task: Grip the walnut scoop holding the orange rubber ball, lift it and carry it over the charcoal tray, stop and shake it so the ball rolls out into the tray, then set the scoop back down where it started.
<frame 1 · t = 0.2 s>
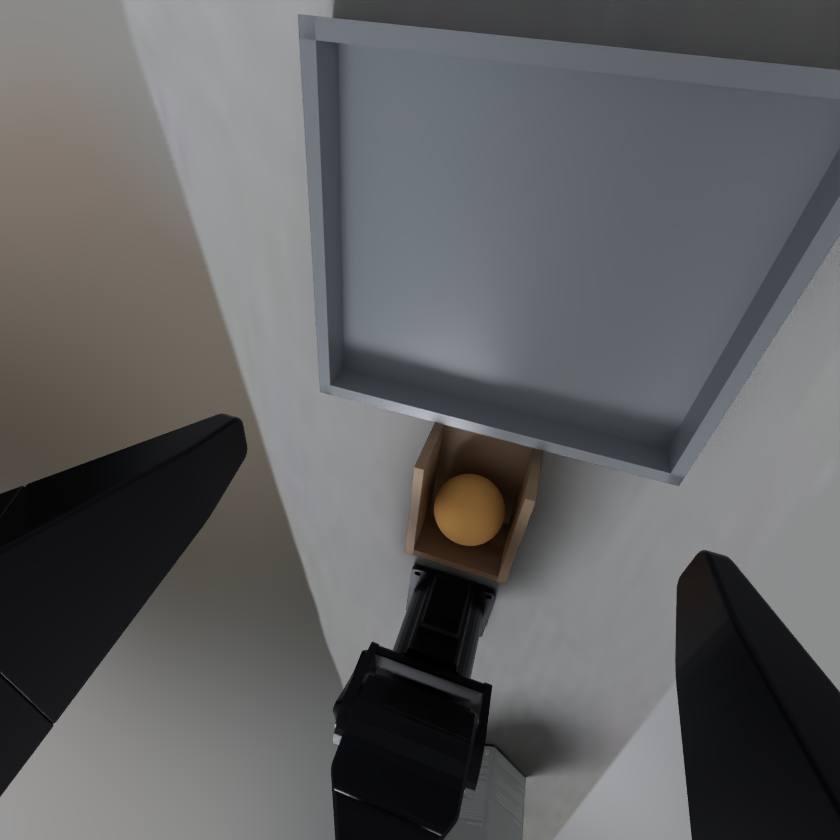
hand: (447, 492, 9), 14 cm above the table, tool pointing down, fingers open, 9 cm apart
ball: (469, 509, 26), point 3 cm above the table, touching scoop
skincare box: (491, 758, 54), on the table
tray: (528, 269, 20), on the table
scoop: (479, 473, 28), on the table, touching ball
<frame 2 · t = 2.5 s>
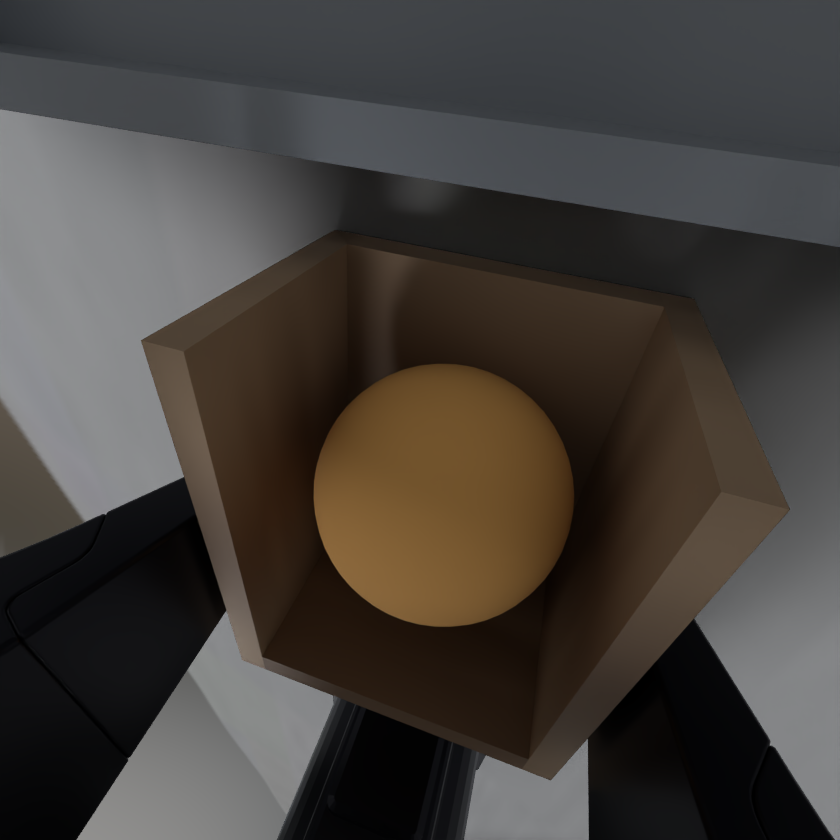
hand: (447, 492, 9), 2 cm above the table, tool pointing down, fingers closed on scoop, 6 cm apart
ball: (442, 489, 7), point 3 cm above the table, tilted 33°, touching scoop
scoop: (468, 426, 10), on the table, touching ball, gripper
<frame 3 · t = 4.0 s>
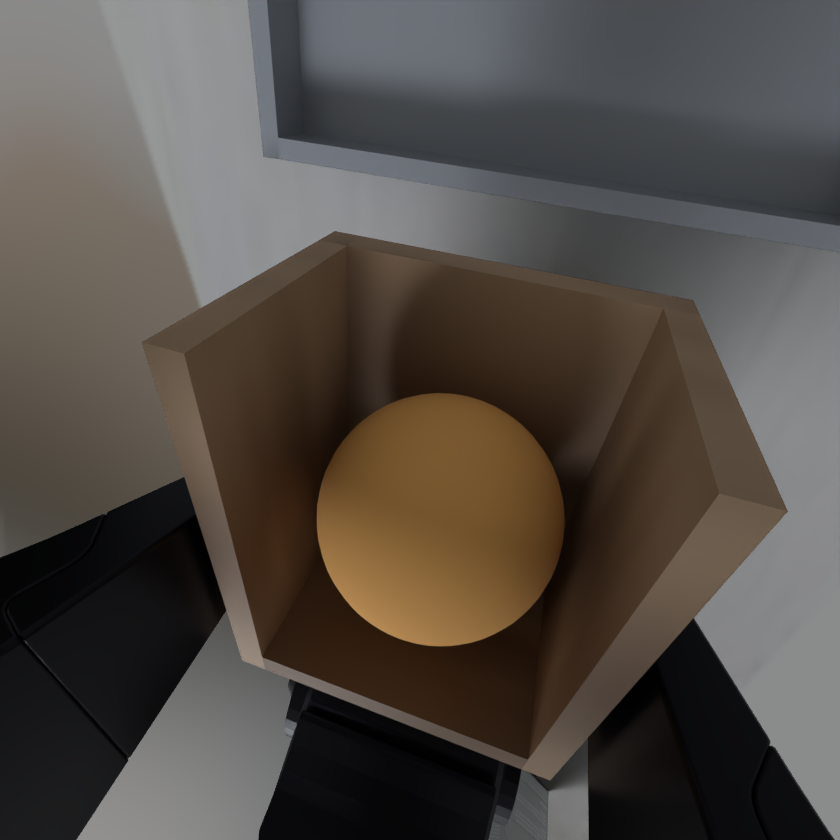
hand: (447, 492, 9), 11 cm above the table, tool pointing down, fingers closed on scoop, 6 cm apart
ball: (439, 512, 8), point 12 cm above the table, tilted 17°, touching scoop
skincare box: (506, 767, 44), on the table
scoop: (468, 427, 10), point 10 cm above the table, touching ball, gripper
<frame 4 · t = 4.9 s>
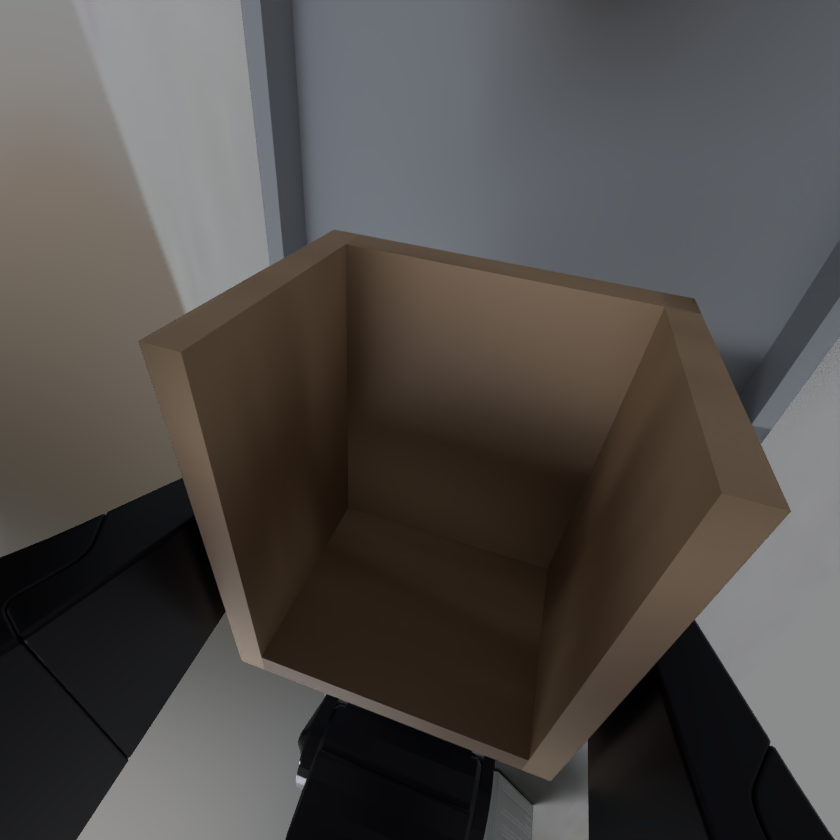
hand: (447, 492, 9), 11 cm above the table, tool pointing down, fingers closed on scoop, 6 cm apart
skincare box: (494, 782, 48), on the table
tray: (556, 136, 14), on the table
scoop: (468, 426, 10), point 9 cm above the table, touching gripper
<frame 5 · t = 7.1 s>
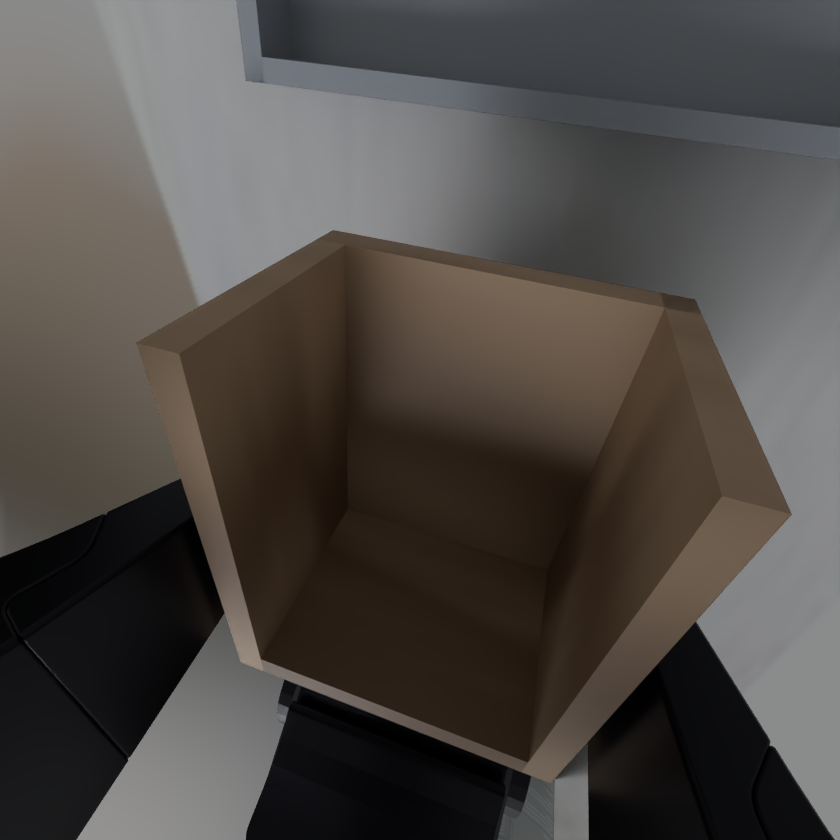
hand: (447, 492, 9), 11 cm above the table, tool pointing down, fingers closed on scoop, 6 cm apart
skincare box: (511, 754, 43), on the table
scoop: (468, 427, 10), point 9 cm above the table, touching gripper
when the fingers open (2 cm above the table, at t = 9.1 s): scoop drops 1 cm, on the table.
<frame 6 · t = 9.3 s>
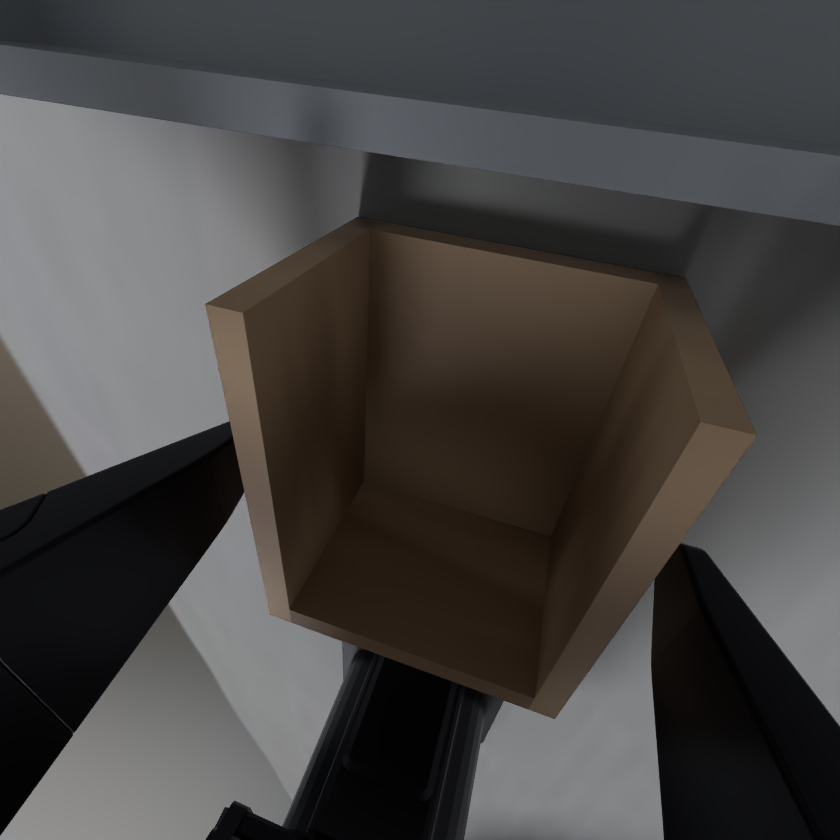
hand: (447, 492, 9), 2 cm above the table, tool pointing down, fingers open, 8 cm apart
scoop: (478, 401, 10), on the table
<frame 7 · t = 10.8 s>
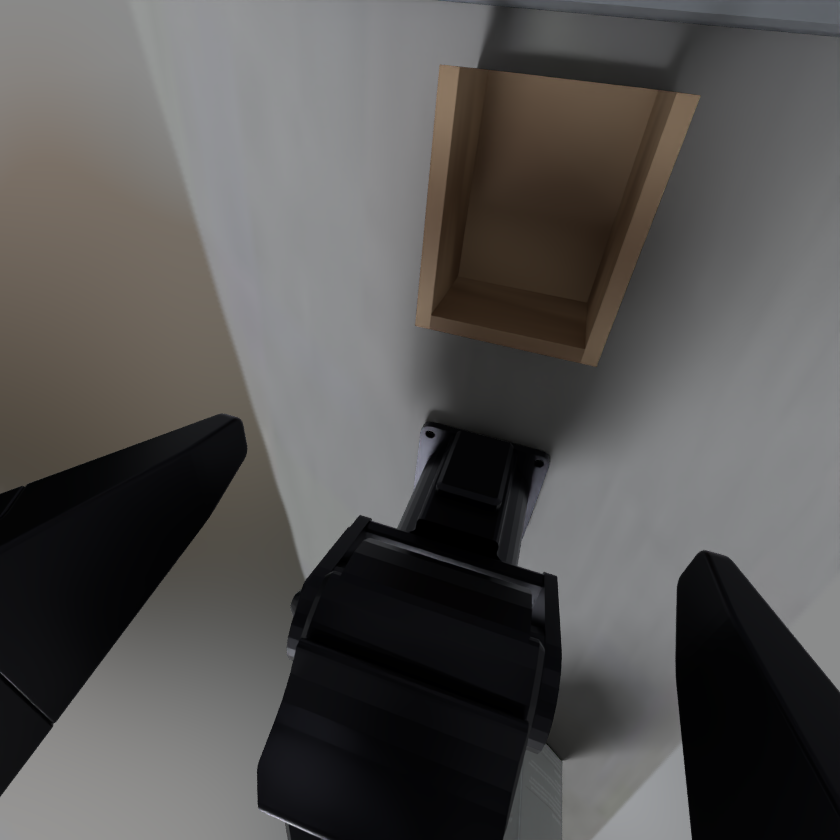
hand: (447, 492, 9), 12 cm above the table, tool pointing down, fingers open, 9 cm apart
skincare box: (518, 735, 42), on the table
scoop: (542, 202, 16), on the table
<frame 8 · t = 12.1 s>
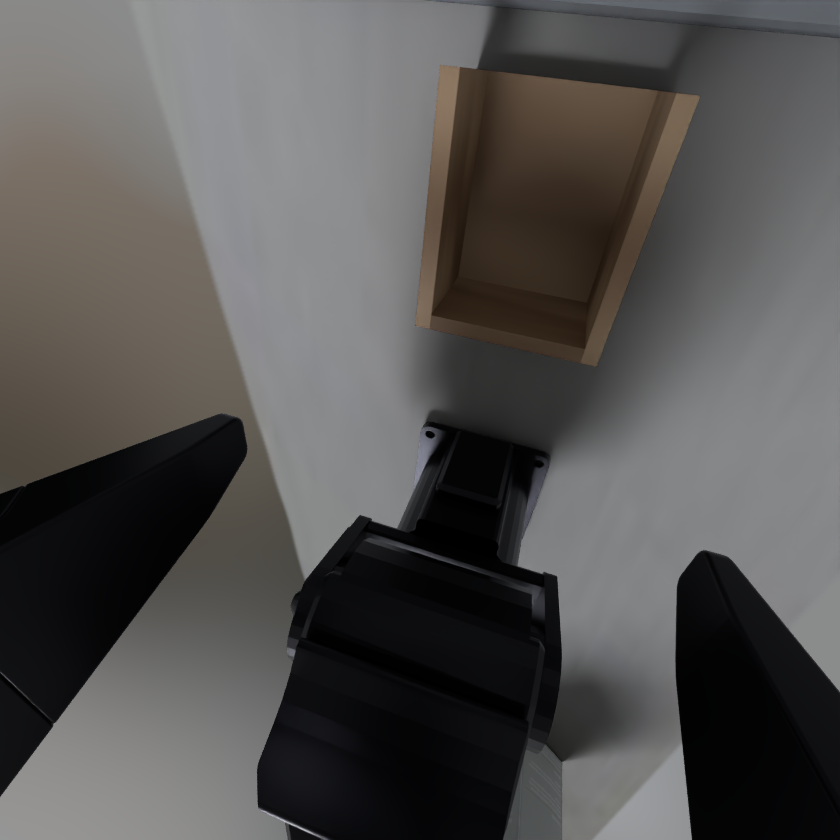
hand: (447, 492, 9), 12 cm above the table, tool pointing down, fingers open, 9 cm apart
skincare box: (517, 736, 42), on the table
scoop: (542, 202, 16), on the table
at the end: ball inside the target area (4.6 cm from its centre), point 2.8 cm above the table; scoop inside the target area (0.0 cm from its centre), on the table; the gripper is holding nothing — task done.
